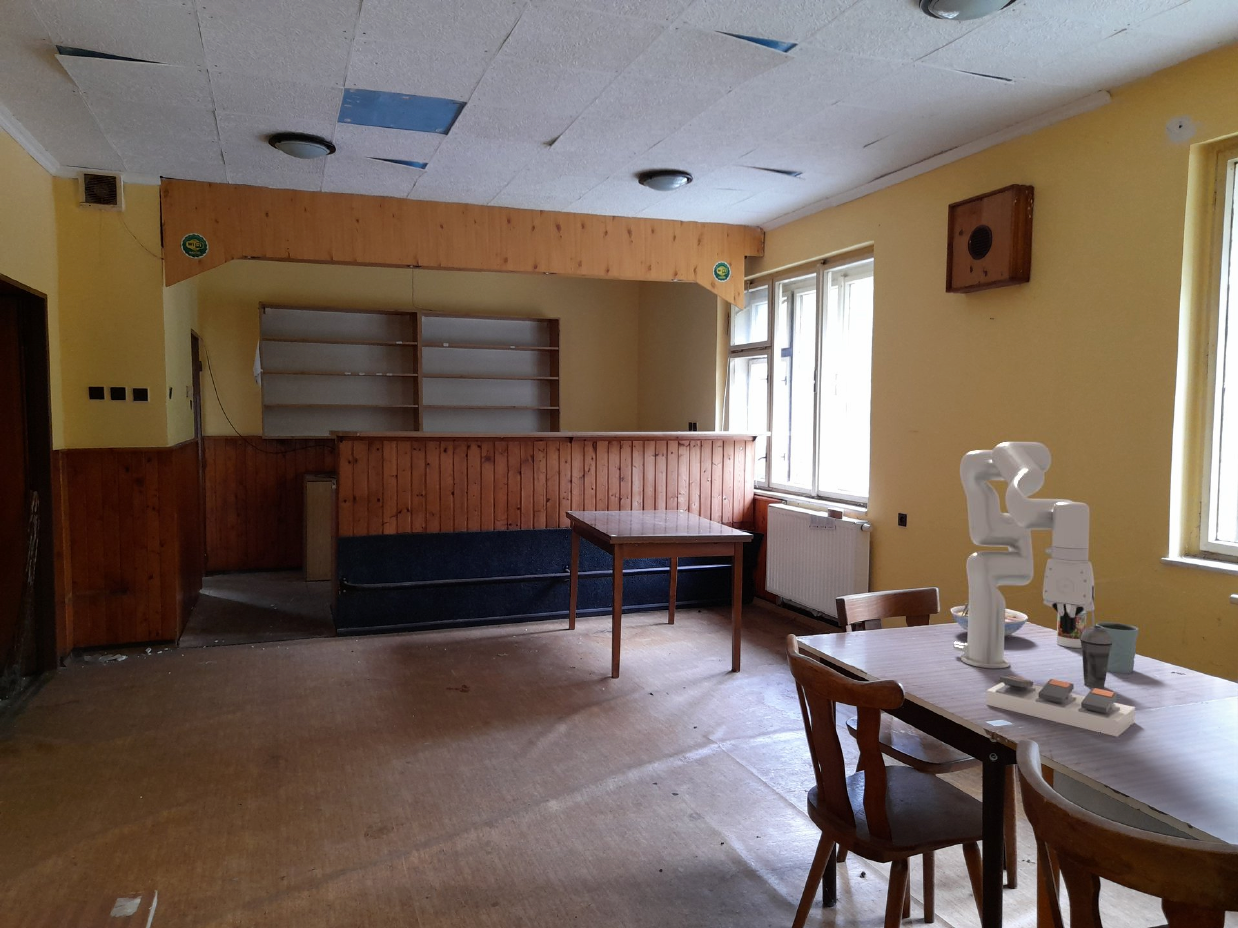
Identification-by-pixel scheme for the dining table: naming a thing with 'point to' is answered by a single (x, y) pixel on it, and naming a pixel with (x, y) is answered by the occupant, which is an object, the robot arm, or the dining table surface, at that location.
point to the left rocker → (1016, 682)
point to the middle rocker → (1056, 690)
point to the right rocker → (1099, 700)
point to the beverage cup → (1095, 654)
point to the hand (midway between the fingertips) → (1067, 632)
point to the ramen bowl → (1012, 618)
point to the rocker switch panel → (1061, 709)
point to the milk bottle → (1075, 637)
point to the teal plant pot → (1121, 646)
